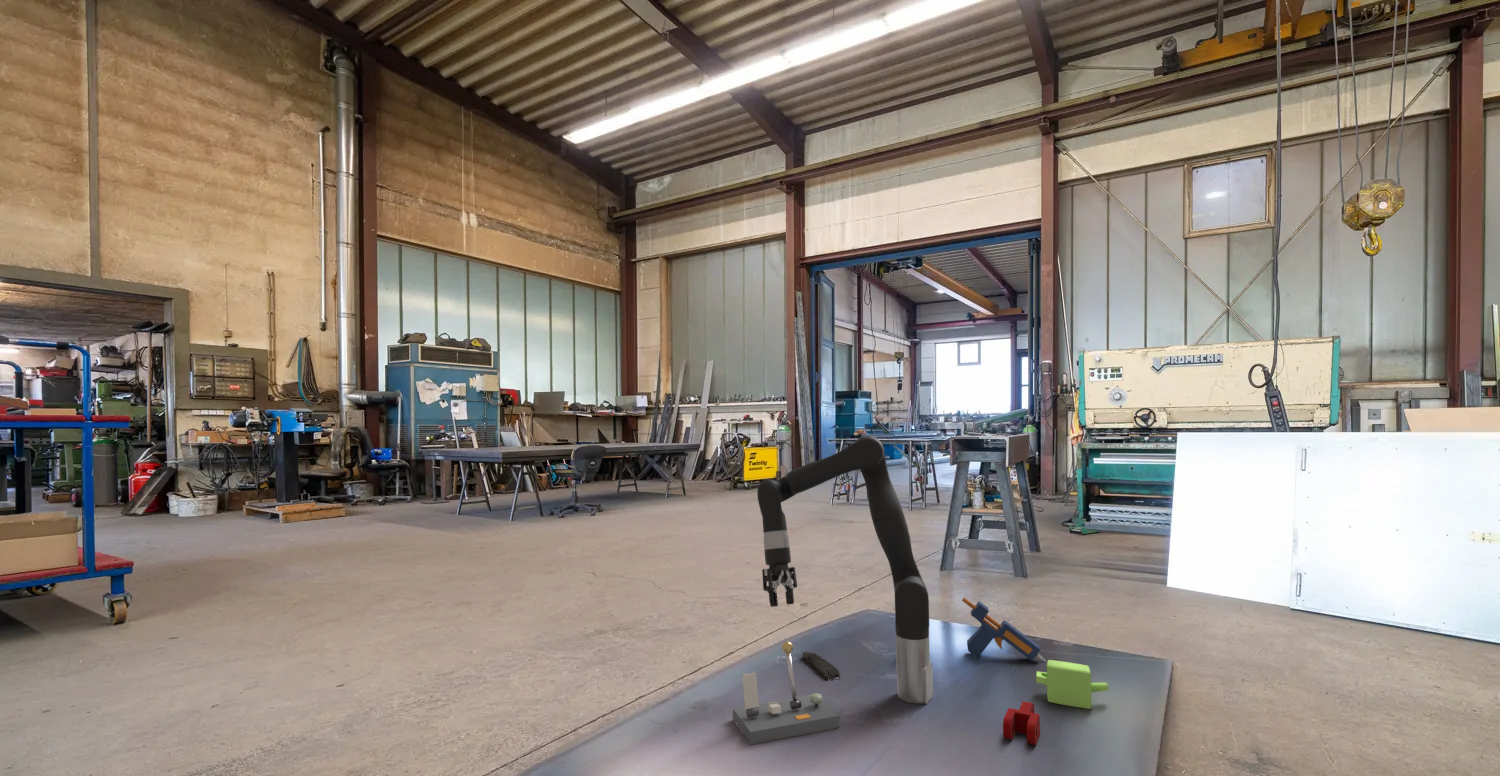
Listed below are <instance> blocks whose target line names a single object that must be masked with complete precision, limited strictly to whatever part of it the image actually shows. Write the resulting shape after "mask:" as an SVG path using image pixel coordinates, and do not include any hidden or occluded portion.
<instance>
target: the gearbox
mask: <svg viewBox="0 0 1500 776" xmlns="http://www.w3.org/2000/svg"><path fill="white" fill-rule="evenodd" d="M1046 662H1047V663H1046V672H1045V671H1036V678H1035V679H1036V683H1037V684H1040V685H1044V686H1046V694H1047V695H1046V696H1047V701H1048V702H1049V703H1052V704H1053V703H1054V704H1057V705H1063V706H1069V707H1075V708H1083V709H1092V700H1093V699H1092V696H1093V695H1092V693H1097V692H1108V691H1109V685H1108V683H1107V682H1092V673H1091V669H1090V666H1089V665H1085V664H1081V663H1074V662H1069V661H1060V660H1052V659H1048V660H1047V661H1046Z"/></svg>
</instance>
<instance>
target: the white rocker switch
mask: <svg viewBox="0 0 1500 776" xmlns="http://www.w3.org/2000/svg"><path fill="white" fill-rule="evenodd" d="M767 708H768V711H769V712H770V713H772V714H777V713H781V706H780V705H779V704H777V702H773V701H770V703H768V704H767Z"/></svg>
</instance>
